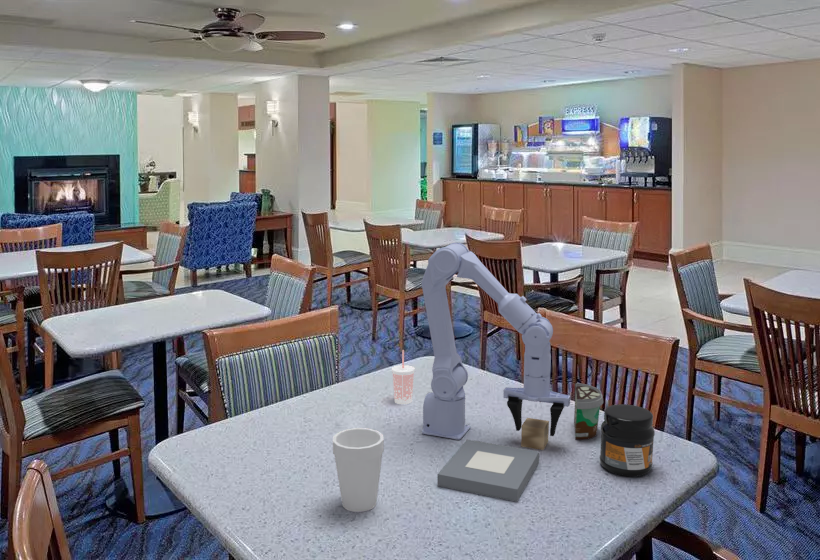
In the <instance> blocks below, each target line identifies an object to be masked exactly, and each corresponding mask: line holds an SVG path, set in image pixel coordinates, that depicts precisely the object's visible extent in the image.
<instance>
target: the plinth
mask: <svg viewBox="0 0 820 560" xmlns="http://www.w3.org/2000/svg"><path fill="white" fill-rule="evenodd" d="M457 449H458V450H456V451H455V453H454V454H453V455H452V456H451V458H449V460H448V461H447V462H446V464H444V466H443V467H442V468H441V469H440V471H438V473H437V477H436V478H437V479H436V481H437V485H436V486H437V487H440V488H446V489H450V490H455V491H462V492H465V493H470V494H471V493H472V494H476V495H482V496H487V497H492V498H496V499H500V500H501V499H502V500H506V501H511V502H518V501H519V499H520V497H521V495H522V494H523V493H524V490H525V488H526V486H527V485H528V483H529V481H530V480H531V478H532V476H533V474H534V472H535V471H536V469H537V467H538V465H539V463H540V450H532V449H528V448H521V447H515V446H509V445H502V444H497V443H492V442H485V441H479V440H473V439H466V440H465V441H464V442H463V443H462V445H461V446H460V447H459V448H457Z"/></svg>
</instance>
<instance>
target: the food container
mask: <svg viewBox="0 0 820 560" xmlns="http://www.w3.org/2000/svg"><path fill="white" fill-rule="evenodd" d="M574 385H575V388H574V389H575V390H574V413H573V414H574V415H573V427H574V441H585V440H587V441H588V440H590V439H593V438H595V437H596V436H597V433H598V426H599V419H600V418H599V415H600V408H601V406H602V405H603V404H604V398H603V397H604V396H603V394H602V390H600V389H599V388H598V387H595V386H592V385H590V384H585V383H578V382H575V384H574Z"/></svg>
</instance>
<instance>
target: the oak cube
mask: <svg viewBox="0 0 820 560" xmlns="http://www.w3.org/2000/svg"><path fill="white" fill-rule="evenodd" d="M520 433H521V438H520V439H521V441H520V443H521V444H520V448H521V447H523V448H526V449H528V448H529V449H535V450H538V451H540V450H541V451H544V450H545V448H546V447H547V445H548V443H549V436H550V421H549V420H545V419H537V418H533V417H526V418H525V420H524V422H523V423H522V425H521V431H520Z"/></svg>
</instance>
